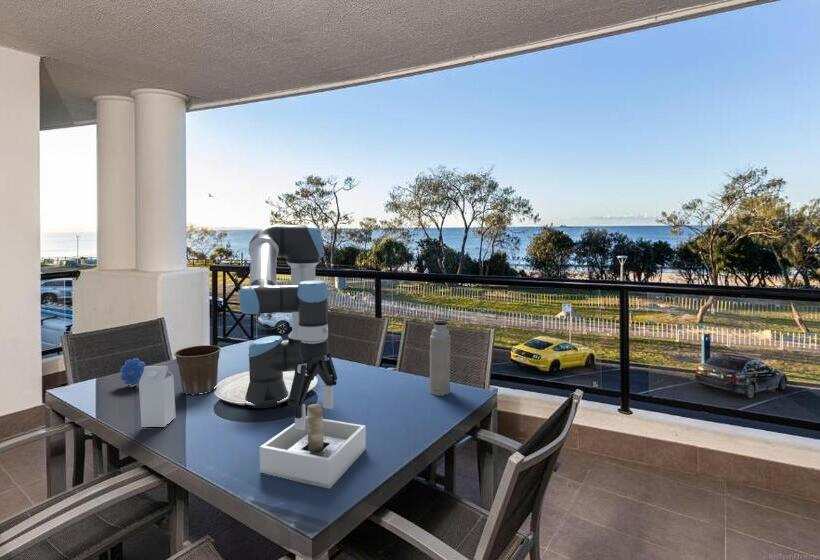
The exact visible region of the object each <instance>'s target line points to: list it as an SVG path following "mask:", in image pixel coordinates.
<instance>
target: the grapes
mask: <svg viewBox="0 0 820 560" xmlns="http://www.w3.org/2000/svg"><path fill="white" fill-rule="evenodd" d="M145 366H146V363H145V362H144V361H140V360H139V358H137V357H134V358H133V359H126V361H125V362H124V365H123V366H121V367H120V368H119V369H120V373H122V374H121V375H120V380H121V381H124V385H125V384H130V383H131V385H134V384H138V383H139V381H140V379H141V376H142V374H143V372H144V367H145ZM131 385H130V386H131ZM138 385H139V384H138Z"/></svg>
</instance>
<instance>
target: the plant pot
mask: <svg viewBox="0 0 820 560" xmlns="http://www.w3.org/2000/svg"><path fill="white" fill-rule="evenodd" d="M221 350H222V348H221V347H220V346H218V345H212V344H211V345H207V344H206V345H205V344H204V345H203V344H202V345H194V346H188V347H184V348H180V349H178V350H176V351H175V352H174V356H175V359H176V364H177V365H178V369H179V370H178V371H179V376H180V382H181V389H182V393H183V392H184V393H187V394H195V395H200V394H199V393H205V392H209V391H212V390H213V389H214V387H215V386H216V385H217V386H218V376H219V375H218V374H219V373H218V370H219V359H220V351H221ZM212 392H213V391H212ZM184 393H183V394H184ZM209 393H210V392H209Z"/></svg>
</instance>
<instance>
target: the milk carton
mask: <svg viewBox="0 0 820 560" xmlns="http://www.w3.org/2000/svg"><path fill="white" fill-rule="evenodd" d="M174 377H175V376H174V374H173V373H172V372H171V371H170V370H169V366H168V365H154V366H151V365H150V366H149V365H148V366H146V365H145V366H144V372H143V374H142V376H141V379H140V381H139V384H138V386H139V387H138V388H139V389H138V390H139V404H140V405H139V406H140V424H141V428H142V427H165V426H166V425H167V424H169V423H170V422H171V421H172V420H173V419H174V418H175V419H176V402H175V401H176V400H175V399H176V398H175V395H176V394H175V382H174V381H175V378H174ZM175 419H174V420H175ZM174 420H173V421H174ZM173 421H172V422H173ZM172 422H171V423H172ZM171 423H170V424H171ZM170 424H169V425H170ZM167 426H168V425H167ZM167 426H166V427H167ZM166 427H165V428H166Z"/></svg>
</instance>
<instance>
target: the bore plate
mask: <svg viewBox="0 0 820 560" xmlns="http://www.w3.org/2000/svg"><path fill="white" fill-rule="evenodd" d="M345 441H346V440H344V439H338V438H332V437H327V436H323V450H322V451H321V452H320V453H316V452H310V451H308V434H307V435H306V436H305V437H303V438H302V439H301V440H300V441H298V442H297V443H296V444H294V445H293V446H292V447H291V448H289V449H288V450H290V451H295V452H300V453H305V454H310V455H315V456H321V457H326V458H328V457H329V456H330V455H331V454H332V453H334V452H335V451H336V450H337V449H338V448H339V447H340V446H341V445H342V444H343V443H344V442H345Z"/></svg>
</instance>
